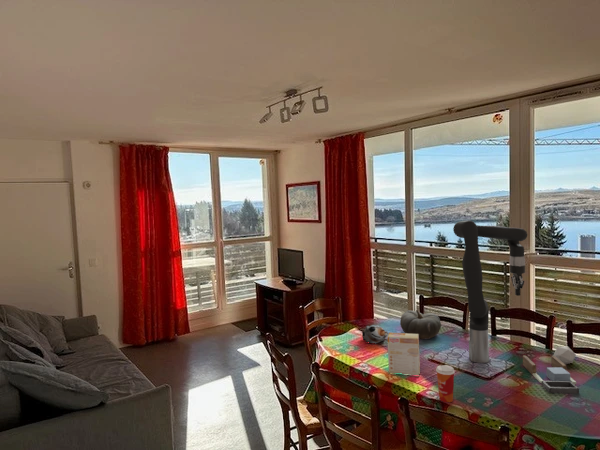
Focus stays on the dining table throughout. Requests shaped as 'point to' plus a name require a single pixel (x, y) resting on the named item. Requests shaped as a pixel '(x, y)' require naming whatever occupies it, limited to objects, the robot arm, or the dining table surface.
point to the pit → (560, 387)
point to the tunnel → (532, 367)
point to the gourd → (420, 324)
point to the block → (558, 374)
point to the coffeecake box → (403, 353)
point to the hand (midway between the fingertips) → (517, 295)
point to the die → (564, 354)
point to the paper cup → (445, 382)
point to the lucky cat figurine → (374, 334)
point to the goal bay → (542, 380)
